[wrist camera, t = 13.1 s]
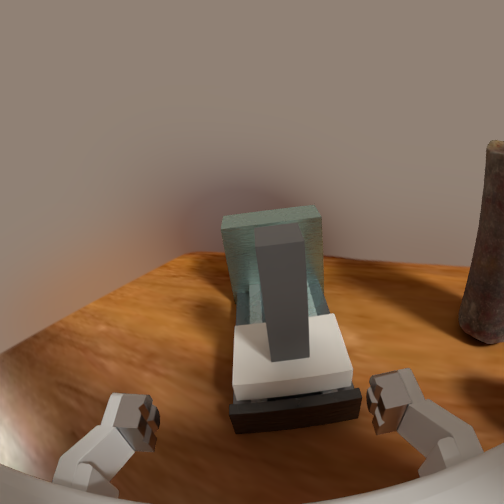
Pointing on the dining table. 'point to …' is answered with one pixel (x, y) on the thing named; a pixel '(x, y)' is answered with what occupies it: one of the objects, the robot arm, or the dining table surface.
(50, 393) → the dining table surface
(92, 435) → the robot arm
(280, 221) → the rail track
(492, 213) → the dark brown cylinder
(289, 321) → the carriage
